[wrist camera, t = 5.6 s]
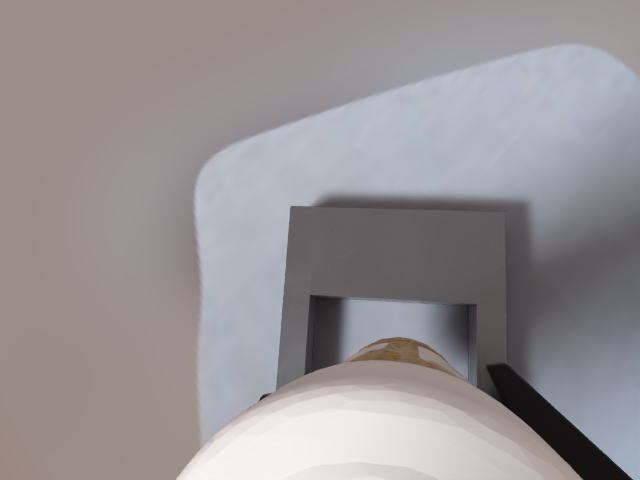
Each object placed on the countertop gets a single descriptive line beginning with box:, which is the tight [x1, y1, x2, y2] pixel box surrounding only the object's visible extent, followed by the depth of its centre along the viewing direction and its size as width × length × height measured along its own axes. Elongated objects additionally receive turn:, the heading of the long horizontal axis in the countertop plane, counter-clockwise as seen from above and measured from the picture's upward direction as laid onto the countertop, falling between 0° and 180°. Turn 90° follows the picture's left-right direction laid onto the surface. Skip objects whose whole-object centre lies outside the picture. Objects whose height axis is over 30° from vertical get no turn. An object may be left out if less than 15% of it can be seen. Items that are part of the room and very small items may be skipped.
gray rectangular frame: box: [276, 206, 507, 392], centre depth 20 cm, size 16×10×2 cm, turn 176°
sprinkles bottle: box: [176, 337, 583, 480], centre depth 10 cm, size 5×5×14 cm
